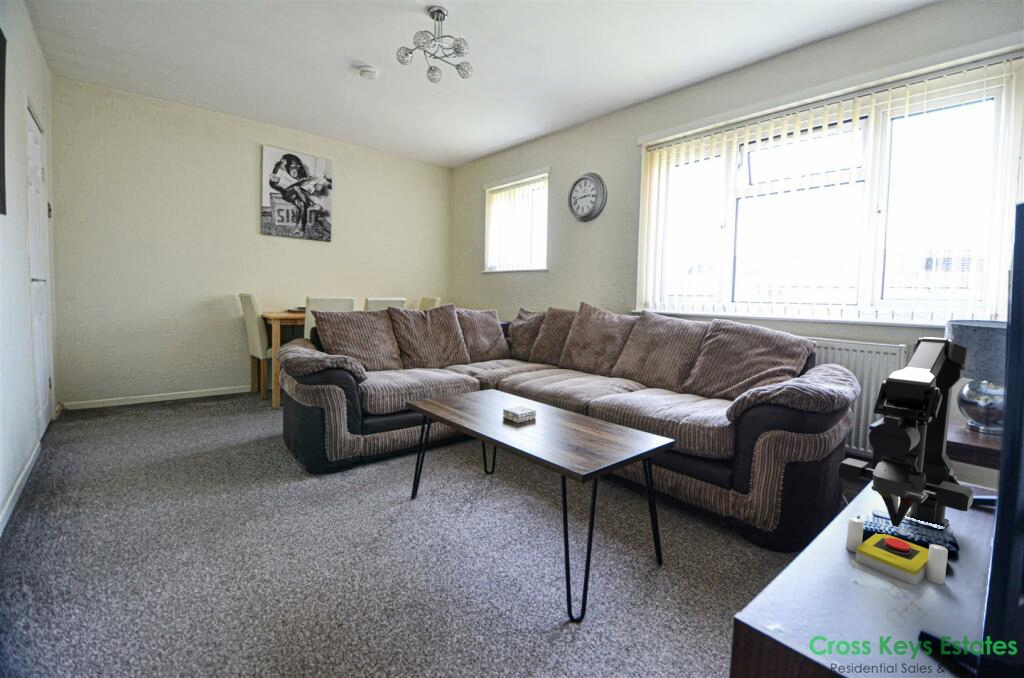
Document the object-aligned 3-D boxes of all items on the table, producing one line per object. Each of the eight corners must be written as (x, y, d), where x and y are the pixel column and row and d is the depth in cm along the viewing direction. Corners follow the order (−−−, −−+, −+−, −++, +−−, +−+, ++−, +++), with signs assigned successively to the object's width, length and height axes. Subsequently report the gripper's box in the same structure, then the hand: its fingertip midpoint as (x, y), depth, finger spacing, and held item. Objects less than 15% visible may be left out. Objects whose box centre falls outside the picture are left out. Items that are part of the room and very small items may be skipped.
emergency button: (941, 544, 86) (913, 570, 78) (938, 565, 87) (910, 594, 78) (880, 523, 94) (849, 544, 86) (879, 543, 94) (847, 567, 86)
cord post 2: (928, 574, 83) (931, 542, 83) (945, 580, 81) (949, 548, 81) (924, 579, 82) (927, 547, 81) (942, 585, 80) (946, 553, 79)
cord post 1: (848, 544, 93) (851, 516, 92) (862, 550, 91) (865, 521, 90) (844, 548, 91) (847, 519, 91) (858, 554, 89) (861, 524, 89)
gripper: (828, 440, 86) (822, 518, 88) (966, 471, 72) (955, 564, 73) (849, 429, 93) (842, 503, 95) (978, 456, 78) (968, 542, 80)
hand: (895, 525), depth 86 cm, fingers closed
